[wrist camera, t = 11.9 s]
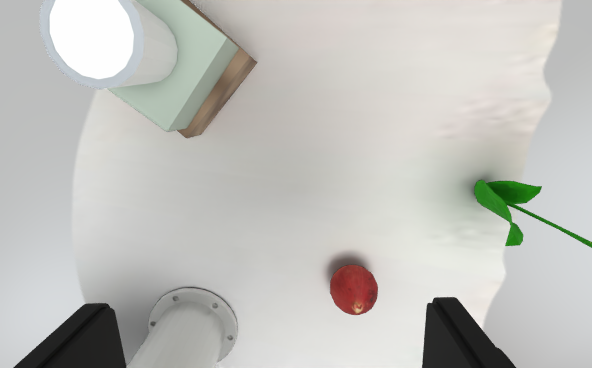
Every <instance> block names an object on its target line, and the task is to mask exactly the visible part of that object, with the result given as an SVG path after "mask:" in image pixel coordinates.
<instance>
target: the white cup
mask: <svg viewBox="0 0 592 368" xmlns="http://www.w3.org/2000/svg"><path fill="white" fill-rule="evenodd" d="M40 34H41V37H42V39H43V42H44V45H45V48H46V50H47V53H48V55H49V56H50V58H51V59H52V60H53V62H54V63H55V64H56V65H57V67H58V68H59V69H60V71H61V72H62V73H63V74H65V75H66V76H68V77H69V78H71V79H72V80H74V81H75V82H77V83H79V84H80V85H83V86H87V87H92V88H96V89H108V88H116V87H124V86H132V85H140V84H149V83H154V82H159V81H162V80H163V79H165V78H166V77H167V76H169V75H170V74H171V72H172V70H173V69H174V67H175V65H176V63H177V54H178V48H177V44H176V40H175V36H174V35H173V33H172V32H171V30H170V29H169V27H168V26H167V24H166V23H164V22H163V21H162V20H160V19H159V18H158V17H156V16H155V15H154V14H153V13H151V12H150V11H149V10H147V9H146V8H145V7H143V6H142V5H141V4H139V3H138V2H137V1H135V0H44V1H43V3H42V6H41V8H40Z"/></svg>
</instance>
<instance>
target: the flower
mask: <svg viewBox="0 0 592 368" xmlns="http://www.w3.org/2000/svg"><path fill="white" fill-rule="evenodd" d="M541 187H542V186H538V187H536V186H531V185H527V184H522V183H518V182H515V181H495V182H489V183H485V181H483V180H480V181H478V182H476V185H475V190H474V192H475V196H476V199H477V201H478V202H479V203H480V204H481V205H482V206H484V207H486V208H487V209H489V210H491V211H492V212H494V213H496V214H497V215H499V216H501V217H502V218H504V219H505V220H507V221H509V222H510V225H511V228H510V231H509V235H508V238H507V242H506V245H505V246H515V245H520V244H521V243H522V241H523V234H522V232H521V230H520V229H519V227H518V226H517V224H515V223H513V222H512V218H511V213H510V211H509V209H508V207H507V205H508V206H511V207H513V208H516V209H518V210H520V211H522V212H524V213H526V214H528V215H530V216H532V217H534V218H536V219H538V220H540V221H542V222H545V223H546V224H549V225H551V226H553V227H555V228H557V229H559V230H561V231H562V232H564V233H566V234H568V235H570V236H571V237H573V238H575V239H577V240H579V241H581V242H582V243H584V244H586V245H588V246H589V247H591V248H592V242H590V241H588V240H586V239H584V238H582V237H580V236H578V235H576V234H574V233H572V232H570V231H568V230H566V229H563V228H562V227H560V226H558V225H556V224H553V223H552V222H550V221H547V220H545V219H543V218H541V217H539V216H537V215H535V214H533V213H531V212H529V211H527V210H525V209H523V208H521V207H519V206H517V205H515V204H521V203H527V202H528V201H529V200H531V199H532V198H534V197H535V196H536V195H537V194H538V193H539V192H540V190H541Z"/></svg>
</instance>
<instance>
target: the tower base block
mask: <svg viewBox="0 0 592 368" xmlns="http://www.w3.org/2000/svg"><path fill="white" fill-rule="evenodd" d="M180 1H182V2H183V3H184V4H186V5H187V6H188V7H189V8H191V9H192V10H193V11H194V12H196V13H197V14H198V15H199V16H201V17H202V18H203V19H205V20H206V21H207V22H208V23H210V24H211V25H212V26H213V27H215V28H216V29H217V30H219V31H220V32H221V33H222V34H224V35H225V36H226V37H227V38H228V39H230V40H231V41H232V42H233V43H234V44H235V45H236V46H238V45H237V44H236V43H235V42H234V41H233V40H232V39H231V38H229V37H228V36H227V35H226V34H225V33H224V32H223V31H222V30H221V29H220V28H218V27H217V26H216V25H215V24H214V23H213V22H212V21H211V20H210V19H208V18H207V17H206V16H205V15H204V14H203V13H202V12H201V11H200V10H199V9H197V8H196V7H195V6H194V5H193V4H192V3H191V2H190V1H189V0H180ZM238 47H239V46H238ZM256 64H257V62H256V61H255V60H254V59H253V58H252V57H250V56H249V55H248V54H247V53H246V52H245V51H244V50H243V49H242V48H241V47H239V50H238V51H237V53H236V54H235V56H234V57H233V59H232V60H231V62H230V63H229V65H228V66H227V68H226V70H225V71H224V73H223V74H222V76H221V77H220V79H219V80H218V82H217V83H216V85H215V86H214V88H213V89H212V91H211V92H210V94H209V96H208V97H207V99H206V100H205V102H204V103H203V105H202V106H201V108H200V109H199V111H198V112H197V114H196V115H195V117H194V118H193V120H192V122H191V123H190V125H189V126H188V128H186V129H181V130H177V131H178V132H179V133H181V134H182V135H183V136H184V137H186V138H190V137H194V136H197V135H201V134H202V133H203V131H204V130H205V129H206V127H207V126H208V125H209V124H210V122H211V121H212V120H213V118H214V117H215V116H216V115H217V113H218V112H219V111H220V110H221V108H222V107H223V106H224V104H225V103H226V102H227V101H228V99H229V98H230V97H231V95H232V94H233V93H234V92H235V90H236V89H237V88H238V87H239V85H240V84H241V83H242V81H243V80H244V79H245V78H246V76H247V75H248V74H249V72H250V71H251V70H252V69H253V67H254V66H255V65H256Z"/></svg>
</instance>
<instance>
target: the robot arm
mask: <svg viewBox="0 0 592 368" xmlns="http://www.w3.org/2000/svg"><path fill="white" fill-rule="evenodd" d="M148 330H149V335H148V336H147V338H146V339H145V341H144V342H143V344H142V345H141V347H140V348H139V350H138V351H137V352H136V354H135V355H134V357H133V358H132V360H131V361H130V363H129V364H128V366H127V367H126V363H125V358H124V354H123V349H122V344H121V339H120V334H119V329H118V325H117V320H116V315H115V311H114V310H113V309H112V308H110V306H109V305H108V304H106V303H92V304H85V305H83V306H82V307H81V308H80V309H78V310H77V311H76V312H75V313H74V314H73V315H72V316H71V317H69V318H68V319H67V320H66V321H65V322H64V323H63V324H62V325H60V326H59V327H58V328H57V329H56V330H55V331H54V332H53V333H51V335H49V336H48V337H47V338H46V339H45V340H44V341H43V342H41V343H40V344H39V345H38V346H37V347H36V348H35V349H34V350H32V351H31V352H30V353H29V354H28V355H27V356H26V357H25V358H24V359H22V360H21V361H20V362H19V363H18V364H17V365H16V366H15V367H14V368H215V365H216V363H217V362H219V361H221V360H222V359H223V358H225V357H226V356H227V355H228V354H229V352H230V351H231V350H232V348H233V346H234V344H235V340H236V337H237V321H236V318H235V316H234V314H233V312H232V310H231V308H230V307H229V306H228V305H227V304H226V303H225V302H224V301H223V300H222V299H221V298H219V297H218V296H216V295H214V294H213V293H211V292H208V291H205V290H202V289H196V288H183V289H178V290H175V291H172V292H170V293H168V294H166V295H165V296H163V297H162V298H161V299H160V300H159V301H158V302H157V304H156V305H155V306H154V307H153V309H152V311H151V313H150V316H149V320H148ZM422 368H516V367H515V366H514V364H513V363H512V362H511V361H510V359H509V358H508V357H507V356H506V355H505V354H504V353H503V351H502V350H500V349H499V348H497V347H495V345H494V344H493V343H492V342H491V340H490V339H489V338H488V337H487V335H486V334H485V333H484V332H483V330H482V329H481V328H480V327H479V325H478V324H477V323H476V322H475V320H474V319H473V318H472V317H471V315H470V314H469V313H468V312H467V310H466V309H465V308H464V307H463V305H462V304H461V303H460V302H459V300H458V299H457V298H455V297H440V298H434V299H433V302H432V303H428V304H427V310H426V323H425V337H424V350H423V364H422Z"/></svg>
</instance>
